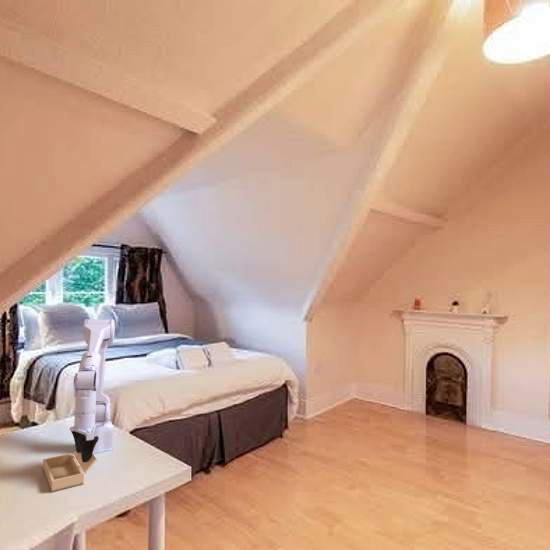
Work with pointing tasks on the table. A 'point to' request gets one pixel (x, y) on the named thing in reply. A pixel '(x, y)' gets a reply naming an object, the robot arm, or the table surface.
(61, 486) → the carton
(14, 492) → the table surface
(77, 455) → the lid flap
